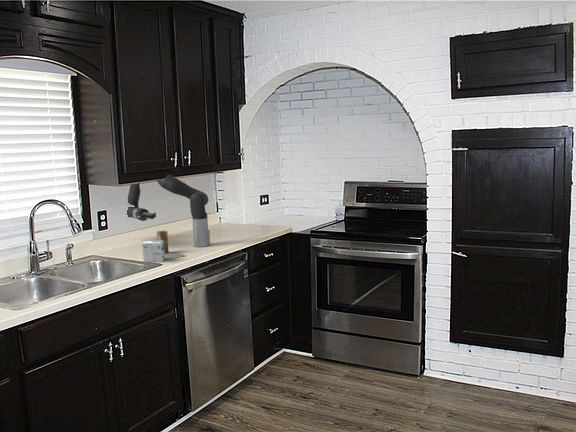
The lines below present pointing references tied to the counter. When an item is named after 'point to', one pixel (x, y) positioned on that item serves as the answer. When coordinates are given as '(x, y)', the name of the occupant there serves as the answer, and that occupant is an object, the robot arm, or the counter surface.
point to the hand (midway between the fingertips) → (152, 217)
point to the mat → (173, 255)
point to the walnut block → (163, 239)
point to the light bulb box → (153, 251)
